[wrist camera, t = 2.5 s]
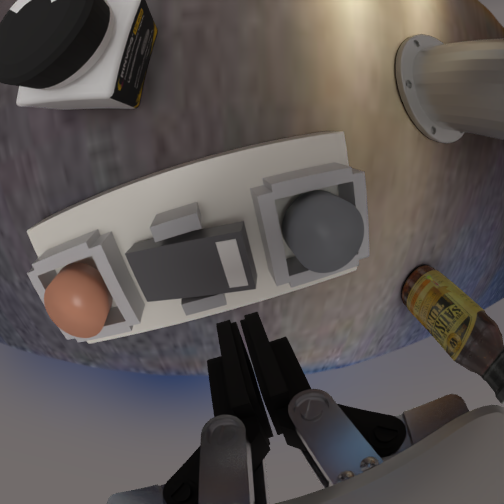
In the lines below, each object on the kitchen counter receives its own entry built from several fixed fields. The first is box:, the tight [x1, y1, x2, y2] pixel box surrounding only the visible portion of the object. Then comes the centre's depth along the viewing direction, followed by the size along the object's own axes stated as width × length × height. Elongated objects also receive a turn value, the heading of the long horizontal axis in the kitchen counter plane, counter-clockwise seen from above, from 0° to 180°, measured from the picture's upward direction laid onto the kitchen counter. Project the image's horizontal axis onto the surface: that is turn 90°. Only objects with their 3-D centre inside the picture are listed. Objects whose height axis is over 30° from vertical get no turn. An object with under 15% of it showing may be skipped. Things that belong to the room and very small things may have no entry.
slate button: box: [282, 190, 364, 273], centre depth 18 cm, size 5×5×2 cm
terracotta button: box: [44, 262, 113, 338], centre depth 16 cm, size 5×5×2 cm
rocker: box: [125, 221, 257, 302], centre depth 17 cm, size 8×4×2 cm, turn 103°
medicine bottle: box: [0, 0, 157, 110], centre depth 10 cm, size 7×7×12 cm
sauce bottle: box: [402, 265, 504, 403], centre depth 21 cm, size 6×6×20 cm
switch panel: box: [27, 131, 369, 344], centre depth 20 cm, size 26×12×6 cm, turn 103°
